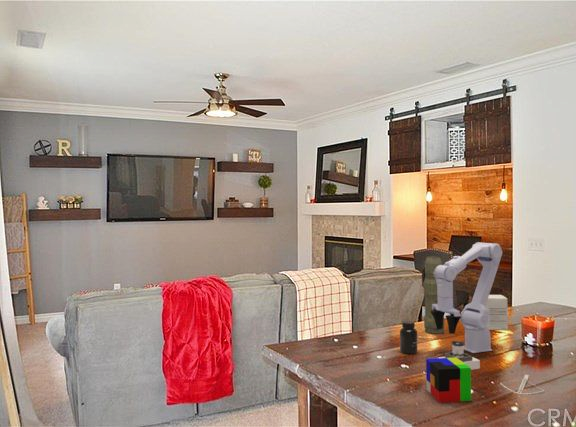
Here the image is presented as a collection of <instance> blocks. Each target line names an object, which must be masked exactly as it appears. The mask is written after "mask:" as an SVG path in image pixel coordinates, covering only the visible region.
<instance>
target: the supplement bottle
mask: <svg viewBox="0 0 576 427" xmlns="http://www.w3.org/2000/svg"><path fill="white" fill-rule="evenodd" d="M415 325H416V324H415V322H414V321H410V320H404V321H402V324H401V327H402V328H401V329H400V330H399V351H400V353H402V354H406V355H414V354H418V330H417V329H416V328H415V327H416V326H415Z"/></svg>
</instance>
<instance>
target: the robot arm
mask: <svg viewBox="0 0 576 427" xmlns="http://www.w3.org/2000/svg"><path fill="white" fill-rule="evenodd" d="M502 256H503V250H502V247H501V244H499V243H498V242H497V243H495V242H494V243H490V242H480V241H477V242H475V243H474V244H472V246H471V248H469V249H468V250H467V251H466V252H465V253H463V254H462V255H461V256H460V255H454V256H452V259H449V260H448V261H446V262H444V264H442V265H439V266H437V267H436V268H435V271H434V277H435V278H436V282H437V296H438V304H432V309H434V311H431V314H432V315H433V317H434V320H435V323H436V327H437V329H442V328H443V318H444V319H446V322H447V326H448V327H447V328H448V334H450V335H454V334H456V332H457V331H456V330H457V327H458V323H459V321H460V323H461V324H462V325H463V328H464V351H467V352H469V353H472V354H476V353H477V354H478V353H485V352H491V351H493V349H492V347H491V346H492V345H491V343H492V342H491V341H492V340H491V338H492V337H491V330H489V329H488V328H486V327H487V325H488V317H489V311H488V310H487V309H486V307H485V306H486V303H487V300H488V297H489V295H491V294H490V293H491V290H492V287H493V284H494V281H495V277H496V274H497V272H498V269H499V266H500V262H501V258H502ZM476 259H477V261H478V263H480V264H481V265H482V269H481V273H480V275H479V278H478V282H477V285H476V287H475V291H474V294H473V297H472V299H471V302H469V303H467V304H466V305H465V306H464V308H463V310H462V311H461V313H460V310H457V308H455V307H454V288H453V286H454V285H453V284H454V282H453V281H455V279H456V277H457V275H458V274H459V273H461V271H463V270H465V269H466V268H467V265H468V264H469V263H471V262H473V261H474V260H476ZM445 314H447V315H445Z"/></svg>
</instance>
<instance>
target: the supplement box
mask: <svg viewBox="0 0 576 427" xmlns="http://www.w3.org/2000/svg"><path fill="white" fill-rule="evenodd" d="M508 300H509V299H508V298H507V297H506V296H505V295H502V294H489V297H488V300H487V303H486V306H485V307H486V309H487V310H488V311H489V317H488V325H487V327H486V328H488V329H489V331H494V330H495V331H508V330H509V323H508V322H509V321H508V320H509V319H508V315H509V314H508V311H509V310H508V308H509V306H508V303H509V302H508Z"/></svg>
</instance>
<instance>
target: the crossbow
mask: <svg viewBox="0 0 576 427" xmlns="http://www.w3.org/2000/svg"><path fill="white" fill-rule="evenodd" d="M529 378H530V375H529V374H524V377H523V378H522V379H521V383H520V386H519V387H518V389H517V391H514V390H512V389H510V388H508V387H507V386H506V385H504V384H503V383H505V381H503V382H500V383H499V384H500V386H502V387H503V388H504V389H507V391H509V392H511V393H514V394H516V395H526V396H529V395H538V394H544V393H545V390H544V389H542V388H540V387H539V386H537V385H536V384H534V383H532V382H530V381H529ZM515 381H516V382H517V381H518V379H515V380H514V382H515ZM510 382H512V380H510V381H508V383H510ZM527 382H528V383H530V384H532V385H533V386H535V387H537V388H538V389H540V390H539V391H536V392H528V393H526V392H525V393H523V391H524V389H525V387H526V386H527Z"/></svg>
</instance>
